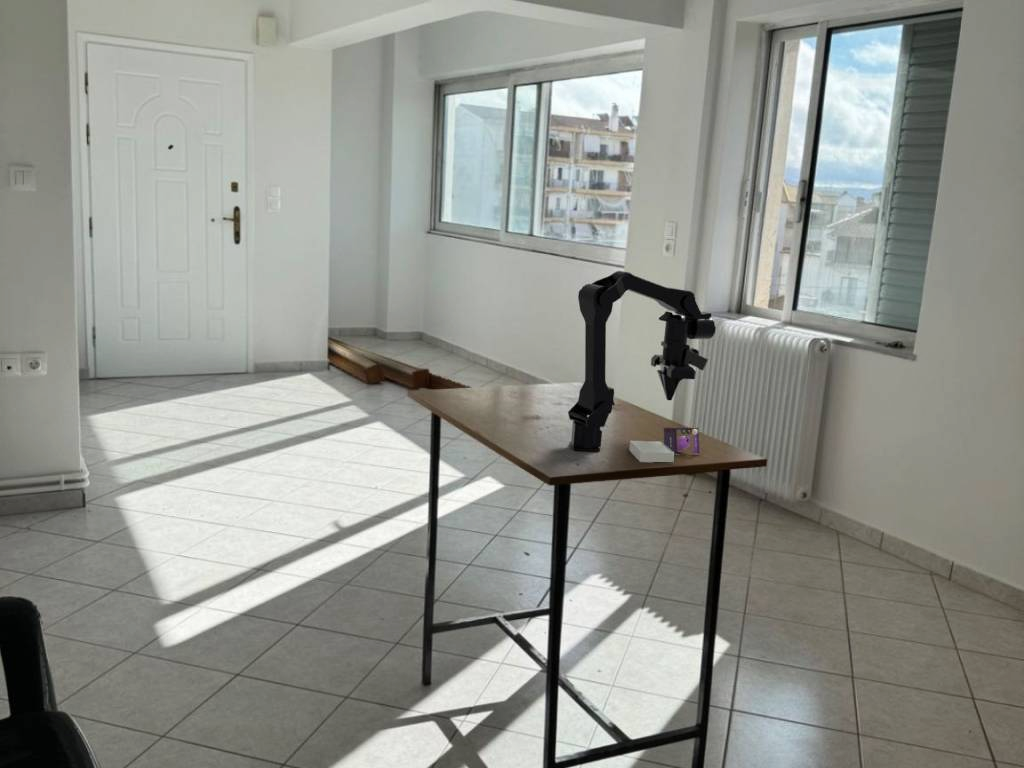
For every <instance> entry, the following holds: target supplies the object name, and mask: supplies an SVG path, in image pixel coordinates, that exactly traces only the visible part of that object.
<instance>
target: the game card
mask: <svg viewBox="0 0 1024 768" xmlns="http://www.w3.org/2000/svg"><path fill="white" fill-rule="evenodd" d="M679 430H680V433H681V434H682V436H680V437H677V431H679ZM686 434H687V435H692V436H693V441H691V440H690V439H691V437H690V436H687V435H686ZM699 436H700V435H699V427H664V428H663V443H664V444H665V445H666V446H667V447H668V448H670V449H671V450H672V451H673V452H674V454H678V451H685V450H687V448H689V446H690V445H691V443H692V444H693V448H694V449H693V450H692V452H691V454H692V453H695V454H697V453H699V454H700V442H699V441H700V440H699Z"/></svg>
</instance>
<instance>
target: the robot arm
mask: <svg viewBox="0 0 1024 768" xmlns="http://www.w3.org/2000/svg"><path fill="white" fill-rule="evenodd" d="M626 291H629V292H632V293H635V294H637V295H639V296H642V297H646V298H649V299H650V300H653V301H655V302H657V303H658V305H660V306H661V307H663V308H664V309H666V310H667V311H665V312H664V313H663V314H661V316H659V317H658V320H659V321H661V322H662V321H663V322H665V327H664V337H663V341H661V343H660V346H662V354H654V355H653V356H652V357H651V359H650V366H652V367H654V368H656V367H657V366H660V368H659V369H657V370H656V372H657V374H658V377H659V381H660V384H661V386H662V389H663V393H664V395H665V399H666V400H667V401H672V400H673V397H674V395H675V393H676V390H677V388H678V385H679V384H680V382H681V381H682V380H695V379H696V373H697V372H696V370H695V369H694V367H695V368H698V369H699V370H701V371H704V369H705V367H706V365H707V363H708V361H709V359H708V358H706V357H704V356H703V355H700V352H699V350H698V349H697V348H694V347H690V345H689V344H688V339H690V340H710V339H712V338H713V337H714V335H715V334H716V329H717V327H716V325H715V321H714V319H713V318H712V312H708V311H707V312H706V311H703V312H701V310H700V308H699V306H698V303H697V300H696V297H695V293H694V292H693V291H690V290H686V289H682V288H681V289H680V288H676V287H675V288H674V287H668V286H663V285H661V284H658V283H656V282H652V281H650V280H648V279H645V278H642V277H640V276H637V275H634V274H633V273H631V272H628V271H624V270H623V271H622V270H618V271H617V270H616V271H615V272H613V273H612V274H609V275H608V276H605V277H602V278H599V279H598V280H595V281H594V282H592V283H588V284H586V283H585V285H583V286H582V288H581V289H579V291H578V297H577V299H578V304H579V305H578V306H579V311H580V313H581V315H582V318H583V320H584V322H585V323H584V324H585V325H584V326H585V329H584V331H585V332H584V333H585V334H584V335H585V341H584V342H585V343H584V347H585V351H584V353H585V354H584V356H585V361H584V363H585V364H584V366H585V367H584V378H585V379H584V382H583V384H582V385H581V387H580V390H579V394H578V400H577V402H575V404H574V405H572V407H571V408H570V409H569V410H568V412H567V414H568V418H569V420H570V421H572V426H571V427H572V430H571V440H570V441H569V442H568V443H569V445H570V447H571V448H572V450H573V451H583V452H584V451H585V452H601V449H600V448H601V447H602V437H603V431H602V430H601V428H604V427H605V426H606V423H607V421H608V419H609V415H610V414H611V413H612V411H613V406H615V400H614V396H615V389H614V388H612V387H609V386H608V384H607V381H606V365H607V364H606V363H607V362H606V358H607V357H606V353H607V352H606V348H607V347H606V345H607V341H606V339H607V337H606V336H607V322H608V320H609V318H610V316H611V314H612V311H613V307H614V306H613V305H614V303H615V302H617V301H619V300H620V299H621V298H622V297H623V295H624V294H625V293H626ZM673 313H674V314H673ZM690 365H692V366H694V367H692V366H690Z"/></svg>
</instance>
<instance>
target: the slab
mask: <svg viewBox="0 0 1024 768" xmlns="http://www.w3.org/2000/svg"><path fill="white" fill-rule="evenodd" d="M628 450H629V451H630V453H631V454H632V455H633V456H634V458H636V459H637V460H638V461H639V463H653V462H673V463H674V461H675V460H674V459H675V455H674V452H673V451H672V450H671V449H670V448H668V447H667V446H666V445H665V444H664V441H654V440H653V441H649V440H630V441H629V449H628Z"/></svg>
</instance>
